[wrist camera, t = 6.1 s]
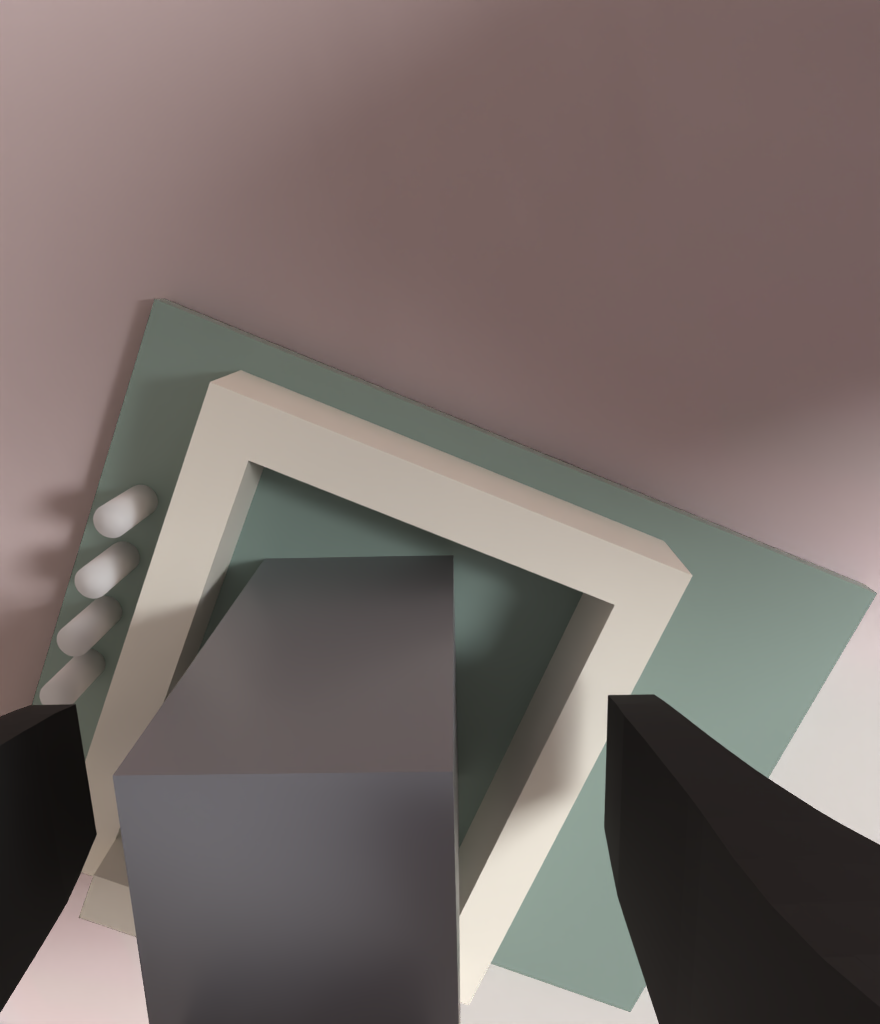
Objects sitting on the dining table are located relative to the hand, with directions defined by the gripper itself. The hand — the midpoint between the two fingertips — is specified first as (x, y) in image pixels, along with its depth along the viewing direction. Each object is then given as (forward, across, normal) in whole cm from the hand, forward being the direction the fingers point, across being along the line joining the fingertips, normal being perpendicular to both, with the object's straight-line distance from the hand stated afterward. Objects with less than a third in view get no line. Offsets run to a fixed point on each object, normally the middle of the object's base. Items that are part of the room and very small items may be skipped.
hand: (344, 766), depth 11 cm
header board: (+3, -1, 0) cm, 3 cm away
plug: (+3, 0, 0) cm, 3 cm away
